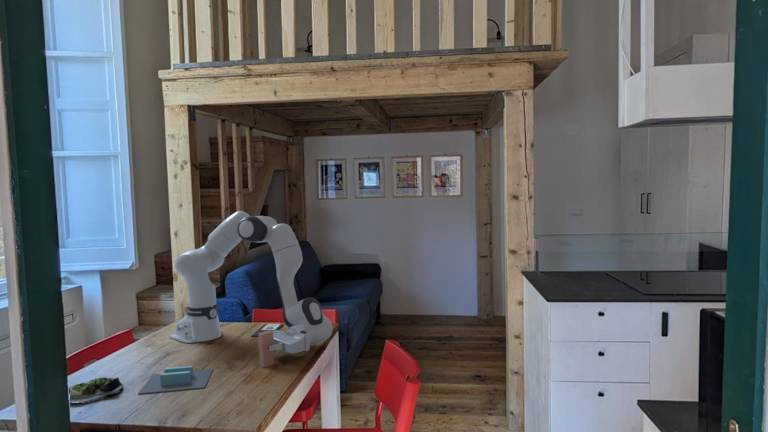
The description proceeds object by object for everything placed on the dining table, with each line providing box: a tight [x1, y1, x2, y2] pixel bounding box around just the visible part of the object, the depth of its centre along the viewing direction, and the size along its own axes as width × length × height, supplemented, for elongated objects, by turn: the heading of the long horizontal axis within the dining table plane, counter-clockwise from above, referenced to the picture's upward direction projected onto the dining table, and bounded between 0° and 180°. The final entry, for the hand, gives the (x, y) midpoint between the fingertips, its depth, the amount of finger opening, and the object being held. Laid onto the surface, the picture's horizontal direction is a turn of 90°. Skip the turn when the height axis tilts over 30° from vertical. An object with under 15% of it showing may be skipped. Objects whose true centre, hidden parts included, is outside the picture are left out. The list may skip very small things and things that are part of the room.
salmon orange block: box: [258, 331, 275, 368], centre depth 175 cm, size 4×2×12 cm, turn 135°
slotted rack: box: [160, 365, 195, 386], centre depth 162 cm, size 9×6×4 cm
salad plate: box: [68, 376, 124, 405], centre depth 153 cm, size 19×18×5 cm
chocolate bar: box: [250, 323, 285, 338], centre depth 218 cm, size 9×1×18 cm
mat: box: [137, 368, 214, 395], centre depth 162 cm, size 20×16×1 cm
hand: (264, 346), depth 175 cm, fingers open, 5 cm apart
